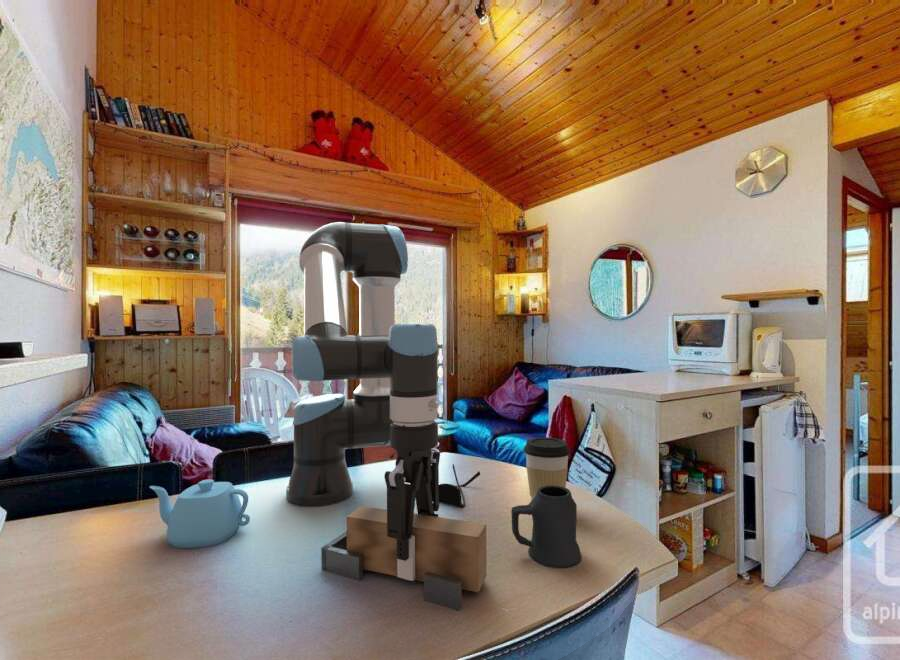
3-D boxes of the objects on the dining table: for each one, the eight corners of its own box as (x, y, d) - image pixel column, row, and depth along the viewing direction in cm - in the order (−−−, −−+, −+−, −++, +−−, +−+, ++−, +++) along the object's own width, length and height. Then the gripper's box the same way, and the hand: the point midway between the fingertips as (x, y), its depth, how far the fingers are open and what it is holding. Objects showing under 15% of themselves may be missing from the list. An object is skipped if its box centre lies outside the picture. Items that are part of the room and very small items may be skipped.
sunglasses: (496, 493, 107) (496, 472, 107) (458, 512, 96) (458, 489, 96) (444, 478, 118) (444, 459, 118) (405, 494, 107) (404, 473, 107)
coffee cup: (566, 503, 99) (566, 437, 99) (574, 523, 89) (574, 448, 89) (522, 502, 100) (522, 436, 100) (525, 521, 90) (525, 448, 90)
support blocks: (423, 602, 64) (423, 574, 64) (450, 571, 72) (450, 546, 72) (458, 612, 62) (458, 584, 62) (482, 579, 70) (481, 553, 70)
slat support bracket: (321, 572, 72) (321, 547, 72) (355, 547, 80) (355, 525, 80) (359, 583, 69) (358, 557, 69) (390, 556, 77) (390, 533, 77)
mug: (569, 540, 82) (569, 480, 82) (590, 567, 73) (590, 499, 73) (506, 545, 81) (505, 483, 81) (519, 572, 72) (519, 503, 72)
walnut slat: (346, 566, 71) (346, 516, 71) (361, 552, 76) (361, 505, 75) (478, 592, 64) (478, 537, 64) (486, 575, 68) (486, 524, 68)
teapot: (166, 472, 90) (259, 468, 92) (166, 525, 90) (259, 520, 92) (129, 496, 77) (237, 490, 79) (130, 557, 77) (238, 550, 79)
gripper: (405, 436, 60) (406, 607, 60) (459, 412, 76) (460, 548, 76) (359, 431, 63) (361, 593, 63) (420, 409, 79) (421, 539, 79)
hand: (415, 568), depth 70 cm, fingers closed on walnut slat, 5 cm apart
